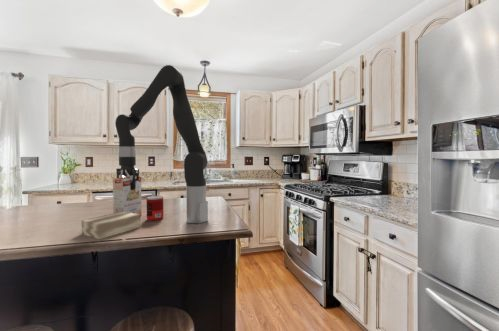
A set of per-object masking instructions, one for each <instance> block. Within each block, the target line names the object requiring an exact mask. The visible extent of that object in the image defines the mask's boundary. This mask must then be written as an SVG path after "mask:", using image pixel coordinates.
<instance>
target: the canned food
mask: <svg viewBox="0 0 499 331" xmlns="http://www.w3.org/2000/svg"><path fill="white" fill-rule="evenodd" d="M163 219H164V196H163V195H152V196H150V195H149V196H148V197H147V196H146V220H147V221H149V222H155V221H156V222H157V221H161V220H163Z"/></svg>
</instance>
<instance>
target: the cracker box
mask: <svg viewBox="0 0 499 331" xmlns="http://www.w3.org/2000/svg"><path fill="white" fill-rule="evenodd" d="M135 178H136V177H135ZM132 180H133V178H132ZM130 183H131V182H130V178H128V177H123V178H120V177H119V178H117V177H115V178H112V189H113V190H112V201H113V204H112V205H113V206H112V207H113V208H112V210H113V213H112V214H114V213H119V212H129V213H134V214H140V217H141V216H142V176H139V181H136V186H135V187H136V188H135V190H131V189H130Z"/></svg>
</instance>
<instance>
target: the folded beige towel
mask: <svg viewBox="0 0 499 331" xmlns="http://www.w3.org/2000/svg"><path fill="white" fill-rule="evenodd" d="M139 228H141V216H140V214H134V213H129V212H119V213H114V214H113V213H110V214H105V215H100V216H94V217H92V218H91V217H90V218H87V219H82V220H81V235H84V236H86V237H87V236H88V237H91V238H94V239H97V240H102V239H105V238H107V237H111V236H115V235H118V234H121V233H124V232H128V231H132V230H136V229H139Z"/></svg>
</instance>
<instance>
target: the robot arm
mask: <svg viewBox="0 0 499 331" xmlns="http://www.w3.org/2000/svg"><path fill="white" fill-rule="evenodd" d="M166 88H168V89H169V92H170V94H171V98H172V104H173V105H172V116H173V119H174V123H175V127H176V130H177V132H178V133H179V135H180V136H181V138H182V140H183V142H184V144H185V146H186V149H187V154H186V156H185V158H184V162H183V168H184V169H183V170H184V171H183V173H184V180H185V184H186V185H185V188H186V190H185V191H186V194H185V196H186V198H185V199H186V201H185V202H186V204H185V205H186V222H187V223H188V224H202V223H205V222H208V221H209V208H208V207H209V206H208V205H209V202H208V200H207V180H206V178H205V175H204V174H205V173H204V172H205V169H206V167H207V166H208V157H207V155H206V152H205V150H204V148H203V145H202V142H201V140H200V136H199V130H198V128H197V124H196V120H195V116H194V114H193V110H192V107H191V103H190V101H189V98H188V94H187V90H186V84H185V79H184V76H183V74H182V72H181V71H179V69H177V68H176V67H175V66H173V65H171V64H169V65H168V64H166V65H164V66H162V68H160V70H159V71H158V73H157V74H156V75H155V77H154V79H153V80H152V81H151V83H150V84H149V86H148V87H147V89H146V90H145V91H144V93H142V94H141V96H140V97H139V98H138V99H137V100H136V101H135V102H134V103H133V104H132V105H131V106H130V108H129V109H130V112H131V113H130V114H129V115H126V114H123V113H122V114H118V116H116V119H115V123H114V124H115V128H116V134H117V136H118V165H119V166H120V167H117V168H116V178H123V177H128V178H130V182H131V183H130V189H131V190H135V188H136V187H135V186H136V181H139V177H140V169H139V168H135V166H136V164H137V162H136V161H137V160H136V159H137V155H136V139H135V136H134V135H133V134H132V133H131V131H133V130H135V129H137V127H138V126H139V125H140V123H141V122H142V120H143V119H144V117H145V116H146V114H148V113H149V112H150V111H151V110H152V109H153V107H154V106H155V104H156V101H157V99H158V97H159V95H160V94H161V93H162V92H163V91H164V90H165V89H166ZM135 177H136V178H135ZM132 178H133V180H132Z"/></svg>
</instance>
